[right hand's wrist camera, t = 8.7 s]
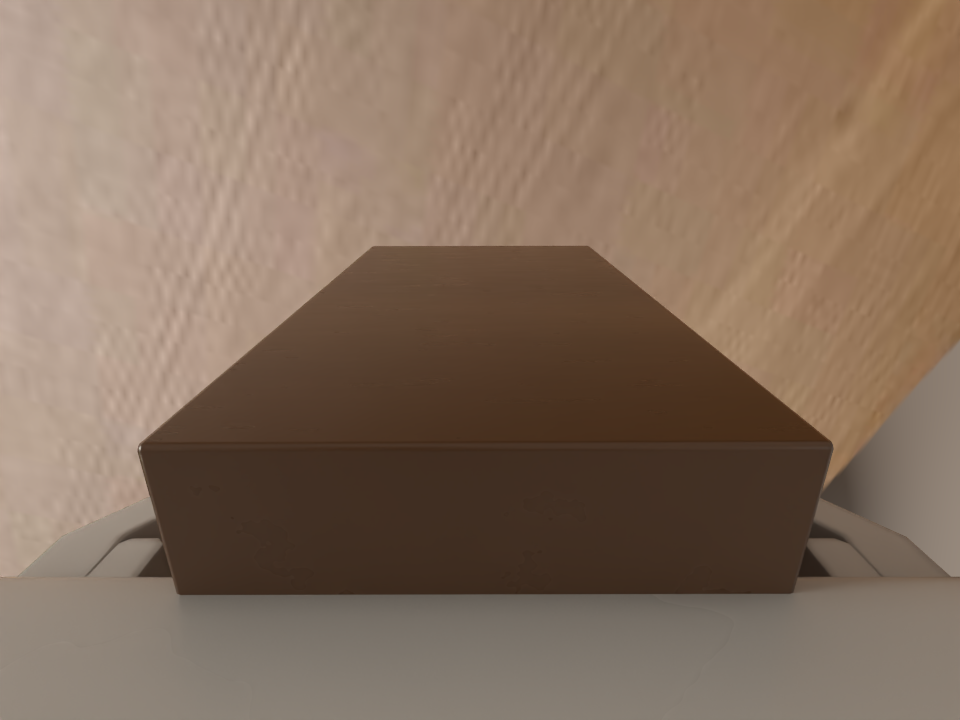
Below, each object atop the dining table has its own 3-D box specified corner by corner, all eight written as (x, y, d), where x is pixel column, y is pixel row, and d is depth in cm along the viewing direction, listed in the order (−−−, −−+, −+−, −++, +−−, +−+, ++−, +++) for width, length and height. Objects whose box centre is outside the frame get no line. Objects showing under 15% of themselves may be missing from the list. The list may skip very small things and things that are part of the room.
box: (371, 246, 14) (132, 446, 4) (589, 245, 14) (839, 443, 4) (411, 767, 22) (357, 1256, 12) (551, 767, 22) (609, 1255, 12)
